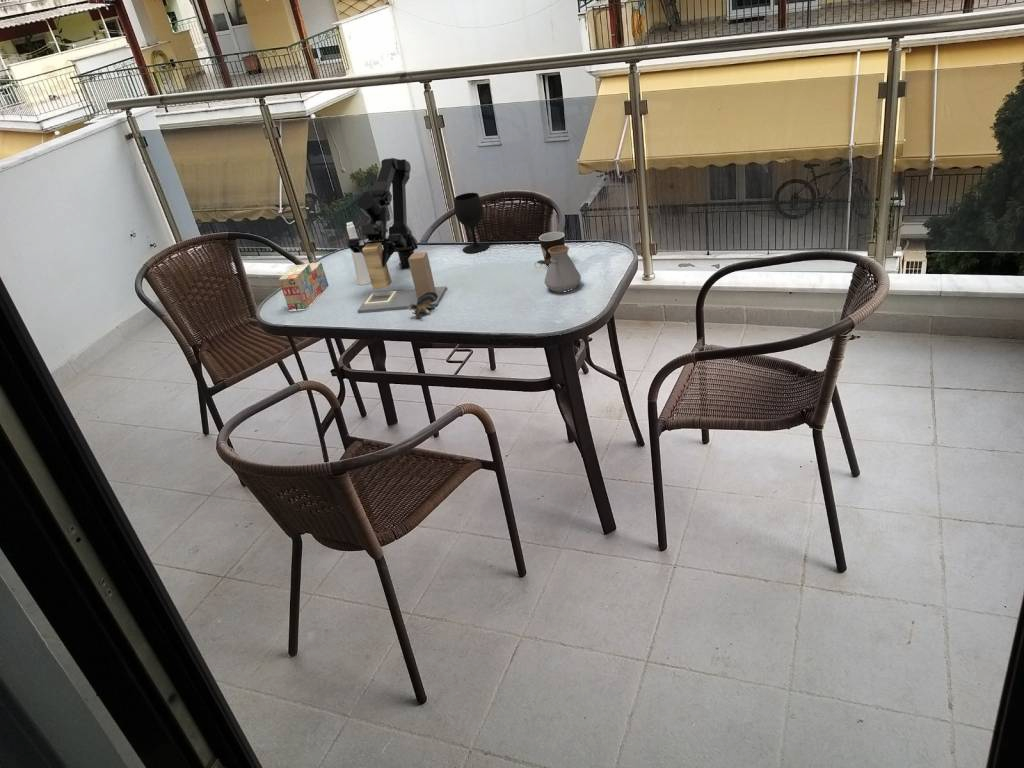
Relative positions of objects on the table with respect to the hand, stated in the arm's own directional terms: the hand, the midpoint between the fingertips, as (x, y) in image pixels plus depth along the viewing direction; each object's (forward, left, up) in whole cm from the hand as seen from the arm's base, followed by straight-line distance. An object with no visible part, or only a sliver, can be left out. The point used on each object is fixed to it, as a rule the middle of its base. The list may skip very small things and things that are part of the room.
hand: (375, 267), depth 250 cm
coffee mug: (+6, +59, -12) cm, 60 cm away
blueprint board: (+6, +6, -12) cm, 14 cm away
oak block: (-1, +1, -7) cm, 7 cm away
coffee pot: (+32, +51, -12) cm, 61 cm away
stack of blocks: (-19, -24, -12) cm, 33 cm away
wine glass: (-28, +39, -12) cm, 49 cm away
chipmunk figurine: (+21, +10, -12) cm, 26 cm away
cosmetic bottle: (-22, -4, -12) cm, 25 cm away
